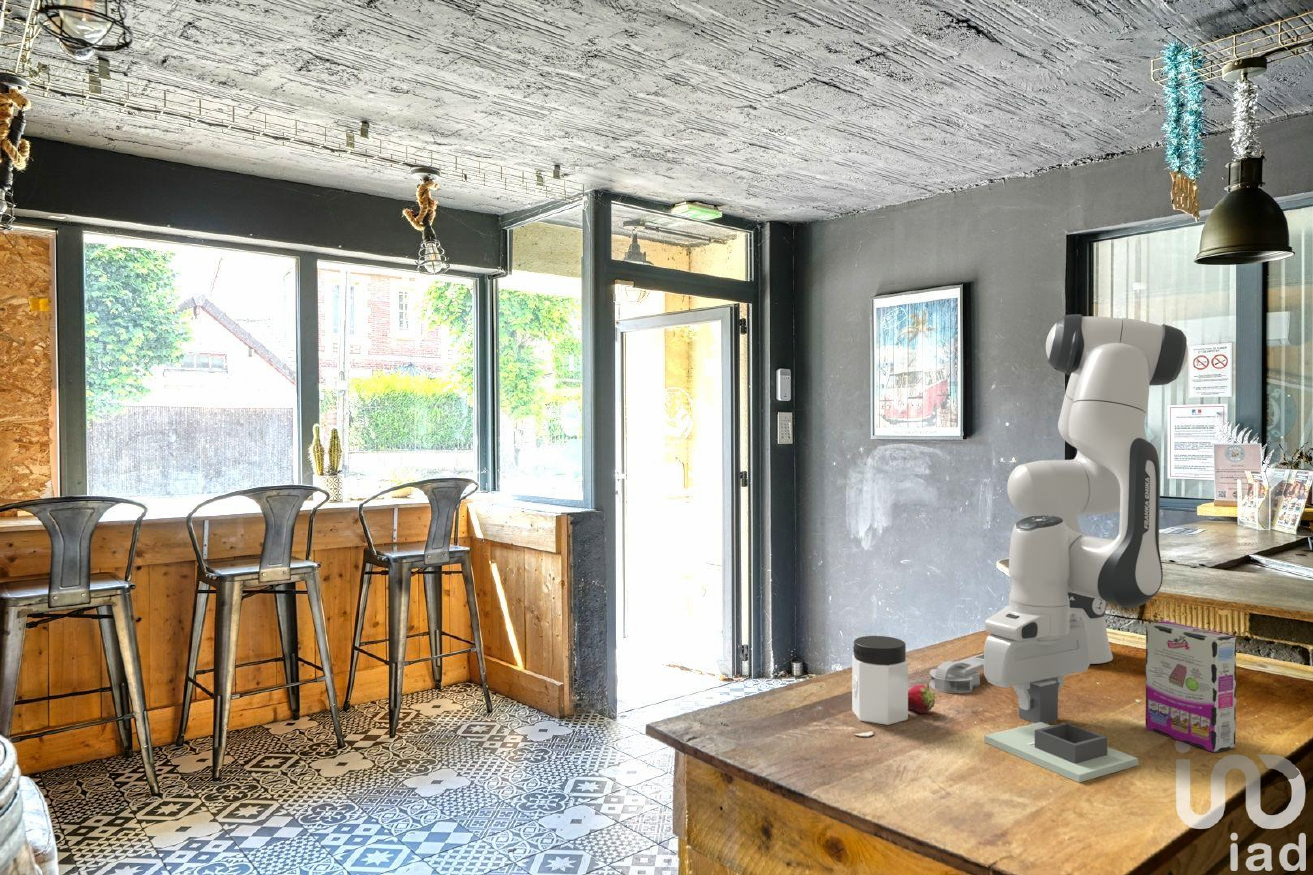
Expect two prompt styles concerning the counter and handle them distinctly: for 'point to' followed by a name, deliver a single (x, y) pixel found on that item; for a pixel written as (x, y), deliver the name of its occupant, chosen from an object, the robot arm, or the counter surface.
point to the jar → (880, 680)
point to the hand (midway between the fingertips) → (1038, 705)
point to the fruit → (921, 698)
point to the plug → (1042, 702)
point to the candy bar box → (1191, 685)
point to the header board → (1063, 750)
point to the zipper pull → (957, 675)
